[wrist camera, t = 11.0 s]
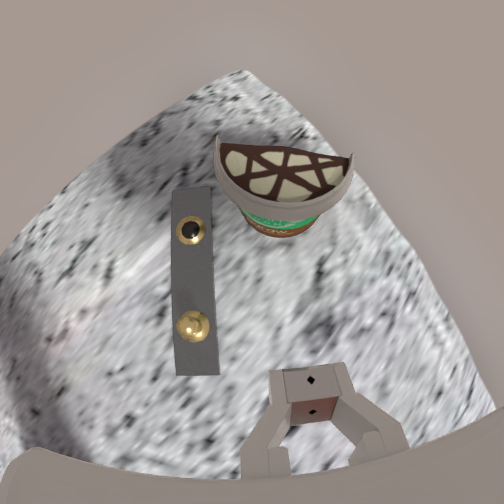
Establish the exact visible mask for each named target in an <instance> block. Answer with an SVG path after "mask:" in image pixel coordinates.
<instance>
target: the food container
mask: <svg viewBox="0 0 504 504" xmlns="http://www.w3.org/2000/svg"><path fill="white" fill-rule="evenodd" d="M353 156H354V152H353V153H352V154H351V156H350V157H349V159H348V158H343V157H336V156H329V155H323V154H317V153H313V152H308V151H304V150H300V149H295V148H290V147H284V146H253V145H242V144H229V143H221V141H220V139H219V137H218V135H217V138H216V140H215V144H214V153H213V166H214V171H215V176H216V178H217V180H218V183H219V185H220V186H221V188H222V189H223V191H224V192H225V194H226V195H227V196H228V197H229V198H230V199H231V200H232V201H233V202H234V203H236V204H237V205H238V206H239V209H240V211H241V212H242V214H243V216H244V217H245V219H246V221H247V222H248V223H249V224H250V225H251V226H252V227H253V228H255V229H256V230H257V231H258V232H260V233H263V234H265V235H267V236H271V237H277V238H285V237H292V236H295V235H298V234H300V233H302V232H304V231H305V230H307V229H308V228H309V227H310V226H312V225H313V223H314V222H315V221H316V220H317V218H318V217H319V216H320V214H322V213H324V212H325V211H327V210H328V209H330V208H332V207H333V206H334V205H335V204H336V203H337V202H339V201H340V200H341V198H342V197H343V196H344V194H345V193H346V192H347V190H348V188H349V186H350V184H351V181H352V177H353V172H354V161H355V157H353Z"/></svg>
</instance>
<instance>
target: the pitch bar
mask: <svg viewBox="0 0 504 504" xmlns="http://www.w3.org/2000/svg"><path fill="white" fill-rule="evenodd" d="M171 287H172V317H173V337H174V352H175V366H176V375H184V376H200V375H220V366H219V352H218V338H217V323H216V306H215V287H214V266H213V240H212V206H211V187H210V186H208V187H200V188H192V189H184V190H176V191H172V220H171Z"/></svg>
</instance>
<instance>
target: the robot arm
mask: <svg viewBox="0 0 504 504" xmlns="http://www.w3.org/2000/svg"><path fill="white" fill-rule="evenodd" d="M269 401H270V405H269V406H268V407H267V409H266V410H265V412H264V414H263V415H262V417H261V418H260V420H259V421H258V423H257V424H256V426H255V427H254V429H253V430H252V432H251V433H250V435H249V436H248V438H247V439H246V441H245V442H244V444H243V445H242V447H241V448H240V454H241V479H194V478H180V477H169V476H160V475H152V474H145V473H138V472H132V471H126V470H121V469H116V468H111V467H106V466H102V465H98V464H94V463H90V462H86V461H82V460H78V459H75V458H72V457H68V456H65V455H62V454H59V453H56V452H53V451H50V450H47V449H44V448H41V447H33V448H31V449H29V450H27V451H26V452H24V453H22V454H21V455H19V456H18V457H17V458H15V459H14V460H12V461H11V462H10V464H9V465H8V467H7V469H6V471H5V473H4V475H3V478H2V481H1V483H0V504H504V405H503V406H502V407H500V408H498V409H496V410H495V411H493V412H491V413H489V414H487V415H486V416H484V417H482V418H480V419H478V420H476V421H474V422H472V423H470V424H468V425H466V426H464V427H462V428H460V429H458V430H455V431H453V432H451V433H449V434H446V435H444V436H442V437H439V438H437V439H434V440H432V441H429V442H427V443H424V444H421V445H419V446H416V447H413V448H409V445H408V442H407V439H406V437H405V434H404V432H403V429H402V426H401V424H400V422H398V421H397V420H395V419H394V418H393V417H391V416H390V415H388V414H387V413H386V412H384V411H383V410H382V409H380V408H379V407H377V406H376V405H375V404H373V403H372V402H371V401H369V400H368V399H367V398H365V397H364V396H363V395H361V394H360V393H355V390H354V387H353V384H352V381H351V379H350V376H349V373H348V370H347V367H346V365H345V363H344V362H340V363H333V364H324V365H317V366H310V367H306V368H294V369H280V370H269ZM329 420H331V422H332V423H333V424H334V425H335V426H336V427H337V428H338V429H339V430H340V431H341V432H342V433H343V434H344V435H345V436H346V437H347V438H348V439H349V440H350V441H351V442H352V443H353V444H354V445H355V446H356V448H355V450H354V451H353V453H352V455H351V456H350V458H349V459H348V460H349V465H350V466H346V467H341V468H337V469H331V470H326V471H320V472H314V473H307V474H300V475H292V476H291V469H290V462H289V455H288V449H287V448H285V447H283V446H282V447H279V446H280V444H281V442H282V440H283V438H284V436H285V434H286V432H287V431H288V429H289V426H293V425H300V424H307V423H314V422H322V421H329Z"/></svg>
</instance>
